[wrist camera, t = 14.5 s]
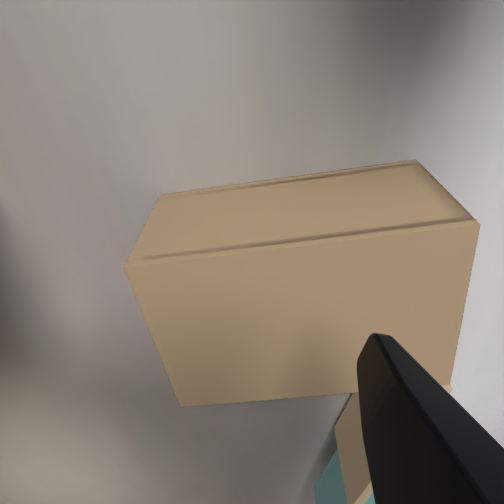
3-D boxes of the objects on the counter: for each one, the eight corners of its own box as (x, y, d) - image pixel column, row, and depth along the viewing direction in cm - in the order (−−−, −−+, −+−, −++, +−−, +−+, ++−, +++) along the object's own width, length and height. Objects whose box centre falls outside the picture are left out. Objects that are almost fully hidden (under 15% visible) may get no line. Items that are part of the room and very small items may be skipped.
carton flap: (347, 471, 31) (363, 552, 27) (312, 466, 31) (321, 547, 27) (451, 313, 22) (502, 396, 17) (401, 305, 22) (440, 387, 17)
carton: (197, 317, 23) (180, 407, 18) (159, 195, 19) (123, 267, 14) (405, 295, 22) (449, 384, 17) (416, 159, 17) (480, 224, 12)
